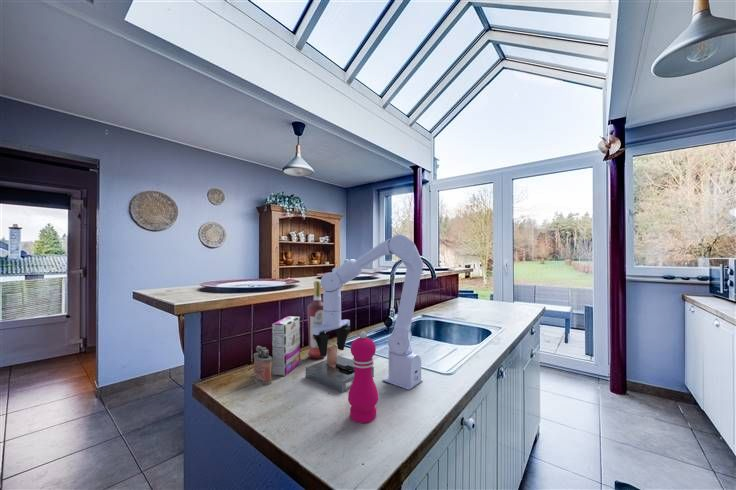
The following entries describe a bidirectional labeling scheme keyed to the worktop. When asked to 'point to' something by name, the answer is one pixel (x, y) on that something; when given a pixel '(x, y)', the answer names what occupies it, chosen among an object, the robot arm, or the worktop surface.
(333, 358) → the peg
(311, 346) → the liquor
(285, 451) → the worktop surface
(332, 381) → the keyhole plate
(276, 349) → the candy bar box
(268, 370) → the lighter
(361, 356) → the pepper mill
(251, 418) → the worktop surface
